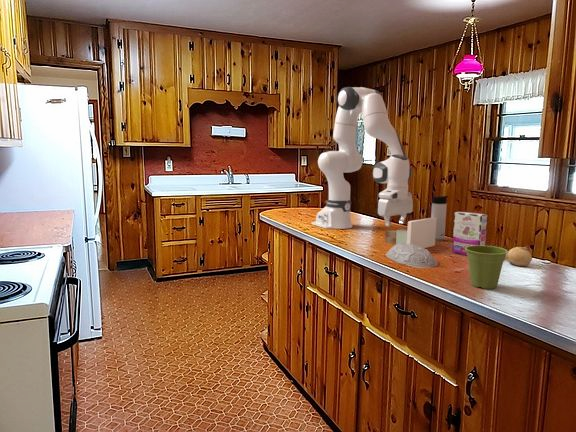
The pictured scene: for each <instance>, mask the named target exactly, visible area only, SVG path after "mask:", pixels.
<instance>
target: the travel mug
mask: <svg viewBox="0 0 576 432" xmlns="http://www.w3.org/2000/svg"><path fill="white" fill-rule="evenodd" d="M448 198H449V196H448V195H445V196H443V195H440V196H434V197H432V198H431V199H432V202H431V215H430V218H432V217H435V218H437V219H436V234H435V242H444V241H445V237H446V236H445V235H446V234H445V233H446V220H447V207H448V206H447V205H448V203H447V202H448Z"/></svg>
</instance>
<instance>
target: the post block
mask: <svg viewBox="0 0 576 432" xmlns="http://www.w3.org/2000/svg"><path fill="white" fill-rule="evenodd" d="M436 219H437V218H435V217H432V218H431V217H427V218H421V219H414V220H409V221H407V229H402V228H401V229H396V231H397V233H396V244H395V245H399V244H401V243H405V244H413V245H415V246H419V247H422V248H424V249H426V248H430V247H435V246H436V241H435V234H436Z"/></svg>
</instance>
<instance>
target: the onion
mask: <svg viewBox="0 0 576 432" xmlns="http://www.w3.org/2000/svg"><path fill="white" fill-rule="evenodd" d="M505 258H506V260H507V262H508V263H509V264H510V265H511V266H512V265H514V266H518V267H527V266H528V265H530V264H531V262H532V261H533V259H532V258H533V257H532V255H531V252H530V251H529V250H528V246H525V247H523V246H519V247H518V246H515V247H513V248H511V249H509V250H508V253H507V254H506V256H505Z"/></svg>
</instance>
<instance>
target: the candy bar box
mask: <svg viewBox="0 0 576 432" xmlns="http://www.w3.org/2000/svg"><path fill="white" fill-rule="evenodd" d="M453 215H454V217H453V232H452V233H453V234H452V247H451V253H452V254H456V255H462V256H466V257H467V250H465V247H467V246H473V245H484V246H486V241H487V240H486V238H487V237H486V236H487V224H488V214H485V213H479V212H478V213H477V212H467V211H456V212H454V214H453Z"/></svg>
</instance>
